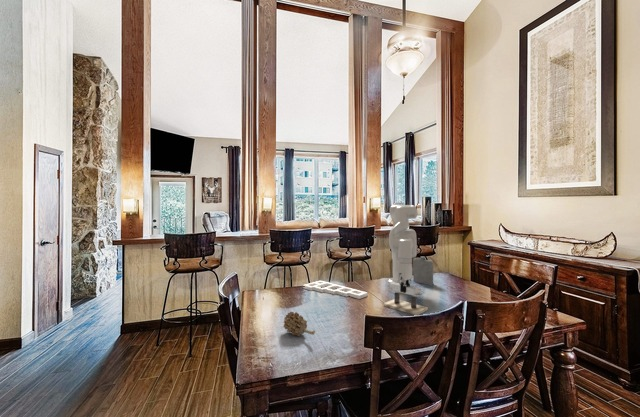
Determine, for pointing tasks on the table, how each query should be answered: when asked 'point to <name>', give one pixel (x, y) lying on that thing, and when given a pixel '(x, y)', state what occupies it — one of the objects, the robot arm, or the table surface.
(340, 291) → the holder
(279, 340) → the table surface
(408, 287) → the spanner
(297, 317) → the pine cone
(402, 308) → the peg board
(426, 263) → the hip flask
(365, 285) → the table surface
